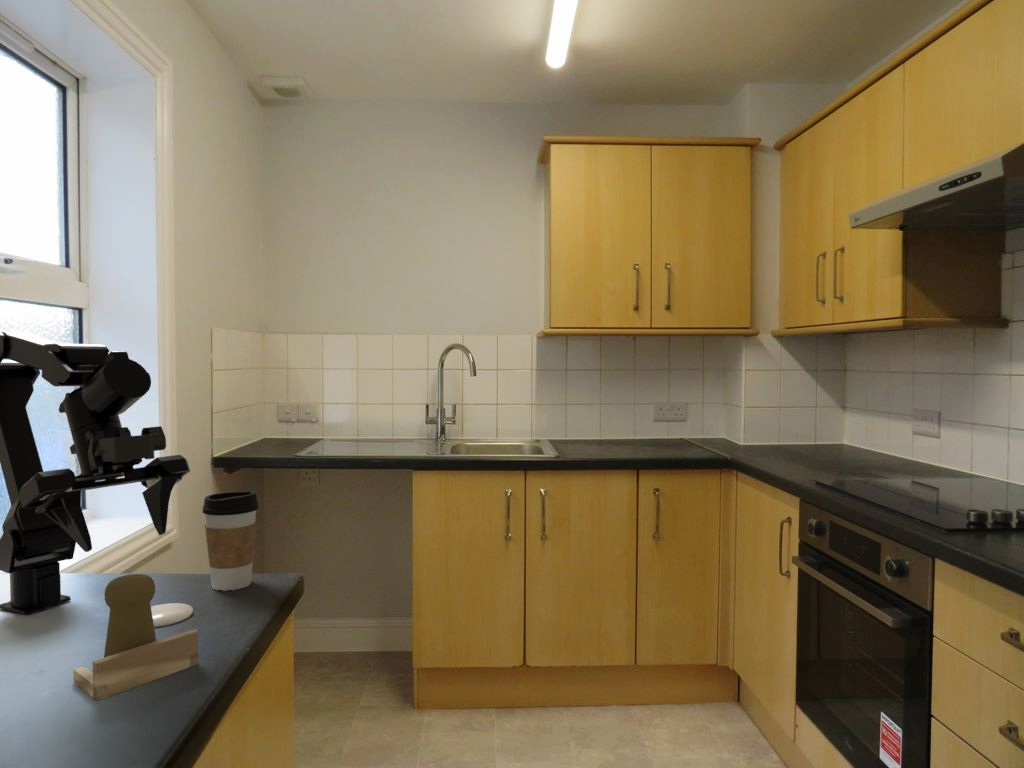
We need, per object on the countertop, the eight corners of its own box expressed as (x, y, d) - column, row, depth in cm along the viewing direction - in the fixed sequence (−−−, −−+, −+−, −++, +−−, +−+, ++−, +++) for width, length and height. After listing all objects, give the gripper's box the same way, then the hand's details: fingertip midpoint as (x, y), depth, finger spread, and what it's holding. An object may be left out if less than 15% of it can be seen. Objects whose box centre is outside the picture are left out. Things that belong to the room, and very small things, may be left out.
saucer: (115, 622, 92) (115, 619, 92) (165, 602, 99) (165, 600, 99) (157, 631, 89) (157, 628, 89) (205, 610, 96) (205, 607, 96)
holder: (73, 682, 75) (73, 647, 75) (172, 649, 83) (172, 618, 83) (97, 700, 71) (96, 664, 71) (198, 663, 79) (198, 631, 79)
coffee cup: (239, 595, 103) (238, 499, 102) (191, 591, 104) (190, 497, 104) (269, 578, 111) (268, 489, 110) (224, 574, 112) (223, 487, 112)
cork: (97, 685, 74) (95, 588, 74) (106, 662, 80) (104, 572, 79) (157, 675, 77) (156, 581, 76) (162, 653, 82) (161, 566, 82)
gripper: (42, 409, 76) (75, 538, 73) (194, 401, 92) (227, 507, 88) (5, 446, 81) (34, 568, 78) (154, 433, 97) (184, 533, 94)
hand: (127, 542), depth 84 cm, fingers open, 9 cm apart
